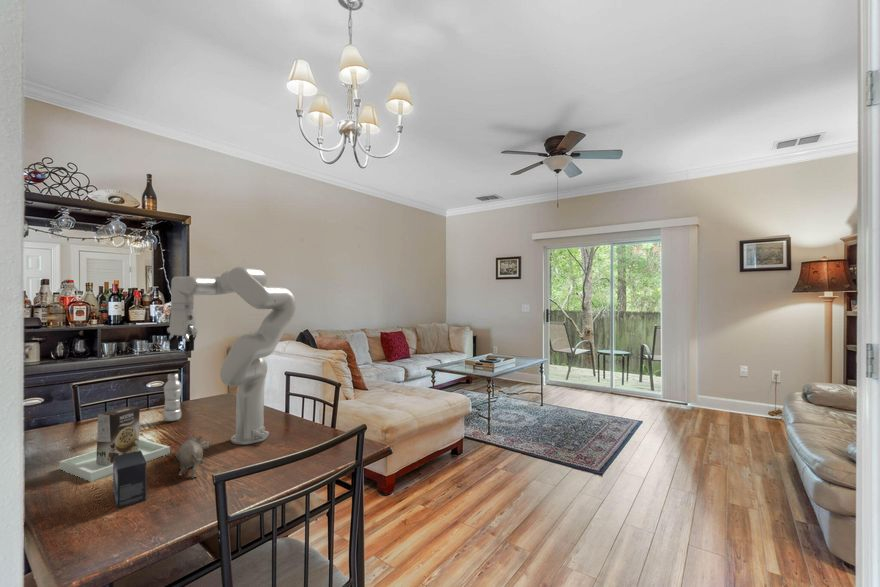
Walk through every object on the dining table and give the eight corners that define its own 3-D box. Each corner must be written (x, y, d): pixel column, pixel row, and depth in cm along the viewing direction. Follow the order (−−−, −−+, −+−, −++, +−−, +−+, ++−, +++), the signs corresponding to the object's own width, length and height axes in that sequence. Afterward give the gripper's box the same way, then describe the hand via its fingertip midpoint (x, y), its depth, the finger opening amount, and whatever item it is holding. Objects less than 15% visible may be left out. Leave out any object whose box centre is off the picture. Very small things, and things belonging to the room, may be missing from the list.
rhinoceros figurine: (164, 477, 112) (179, 424, 120) (173, 487, 122) (186, 438, 131) (195, 476, 114) (207, 424, 123) (201, 486, 124) (212, 438, 133)
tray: (169, 454, 133) (169, 446, 133) (90, 482, 113) (91, 473, 113) (138, 445, 141) (138, 437, 141) (59, 469, 121) (59, 461, 121)
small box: (111, 493, 107) (112, 455, 107) (141, 486, 112) (141, 449, 112) (115, 509, 99) (116, 468, 100) (147, 500, 104) (147, 461, 104)
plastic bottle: (165, 419, 170) (166, 373, 170) (183, 417, 172) (184, 372, 172) (160, 423, 164) (160, 376, 164) (178, 422, 166) (179, 375, 166)
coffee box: (111, 466, 122) (112, 415, 122) (95, 464, 123) (96, 413, 124) (139, 455, 131) (140, 407, 131) (124, 453, 132) (125, 405, 132)
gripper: (205, 307, 156) (204, 350, 156) (178, 306, 163) (177, 347, 163) (186, 308, 149) (186, 352, 149) (159, 307, 156) (158, 349, 156)
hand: (181, 350), depth 156 cm, fingers open, 9 cm apart
